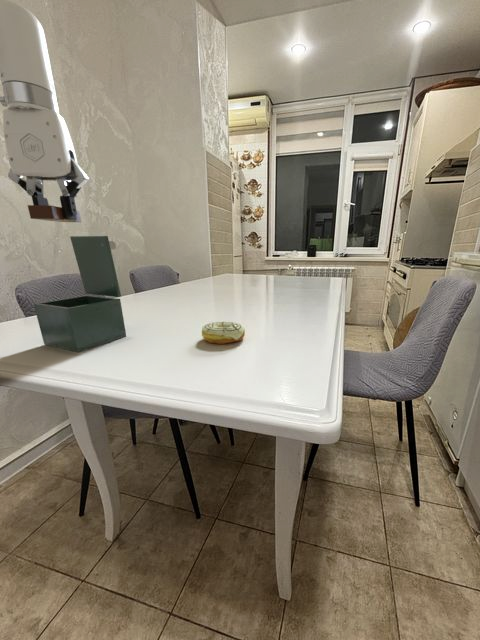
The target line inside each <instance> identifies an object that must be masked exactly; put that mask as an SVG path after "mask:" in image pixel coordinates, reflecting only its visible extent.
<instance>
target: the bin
mask: <svg viewBox="0 0 480 640" xmlns="http://www.w3.org/2000/svg"><path fill="white" fill-rule="evenodd" d="M122 307H123V306H122V302H121V298H118V297H109V296H100V295H91V294H85V295H80V296H74V297H67V298H62V299H61V298H60V299H54V300H48V301H43V302H37V303H33V308H34V312H35V314H36V319H37V323H38V326H39V330H40V334H41V337H42V341H43V344H44V346H48V347H52V348H58V349H62V350H67V351H70V352H75V353H81V352H83V351H86V350H90V349H92V348H96V347H98V346H101V345H104V344H107V343H111V342H114V341H117V340H119V339H122V338H126V337H127V332H126V326H125V319H124V314H123V308H122Z"/></svg>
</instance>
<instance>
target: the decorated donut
mask: <svg viewBox="0 0 480 640" xmlns="http://www.w3.org/2000/svg"><path fill="white" fill-rule="evenodd" d="M245 330H246V329H245V326H244V325H243V324H241V323H238V322H233V321H232V322H231V321H214V322H209V323H207V324H204V325H203V326H202V328H201V336H202V338H203V339H204V340H205V341H206V342H208V343H211V344H217V345H221V344H223V345H225V344H231V343H235V342H240V340H243V338H245V335H246V334H245V333H246V331H245Z"/></svg>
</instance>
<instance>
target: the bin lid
mask: <svg viewBox="0 0 480 640" xmlns="http://www.w3.org/2000/svg"><path fill="white" fill-rule="evenodd" d="M69 238H70V241H71V245H72V250H73V252H74V256H75V261H76V264H77V267H78V271H79V274H80V279H81V282H82V285H83V289H84V290H83V291H84V294H85V295H93V296H102V297H112V298H121V297H122V293H121V288H120V285H119V280H118V277H117V271H116V266H115V262H114V259H113V253H112V251H113V250H115V249H116V248H117V243H116V242H115V241H114V240H109V236H108V235H79V236H78V235H75V236H74V235H73V236H72V235H71V236H69Z"/></svg>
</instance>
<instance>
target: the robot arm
mask: <svg viewBox="0 0 480 640" xmlns="http://www.w3.org/2000/svg"><path fill="white" fill-rule="evenodd" d="M47 44H48V43H47V39H46V34H45V31H44V28H43V26H42V24H41V22H40V21H39V19H38V18H37V16H35V14H33V12H32V11H30V10H29V9H28V8H26V7H24V6H23V5H20V4H19V3H16V2H14V1H12V0H0V81H1V82H0V83H1V86H2V93H3V95H2V96H0V104H1V106H2V107H4V109H3V110H2V127H3V128H2V129H3V136H4V137H3V138H4V143H5V149H6V154H7V159H8V164H9V167H10V169H9V171H8V174H7V178H8V179H9V180H11V181H13V182H14V183H15V184H17V185H18V186H19V187H21V188H22V189H23V190H24V191H25V192H26V194H27V195H28V196H30V197H31V200H32V205H50V204H49V201H48V198H47V197H45V196H44V181H49V182H50V181H53V182H54V181H56V182H57V185H58V188H59V189H60V192H61V195H60V196H59V201H60V207H62V211H63V216H64V218H65V219H66V220H74V221H76V220H77V217H76V216H77V211H78V210H77V206H76V201H75V199H76V198H77V196H78V193H79V192H80V191H81V189H82V187H83V186H85V185H86V184H87V183H88V182H89V181H90V180H89V179H90V178H89V177H88V175H87V173H85V171H84V170H83V169H82V168H81V166H80V165H79V163H78V159H77V154H76V150H75V147H74V144H73V140H72V137H71V133H70V130H69V128H68V126H67V123H66V121H65V119H64V117H63V116H61V113H60V108H59V104H58V98H57V92H56V87H55V82H54V76H53V72H52V65H51V61H50V55H49V51H48V45H47ZM5 107H7V109H6V108H5ZM23 177H25V178H23Z"/></svg>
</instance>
